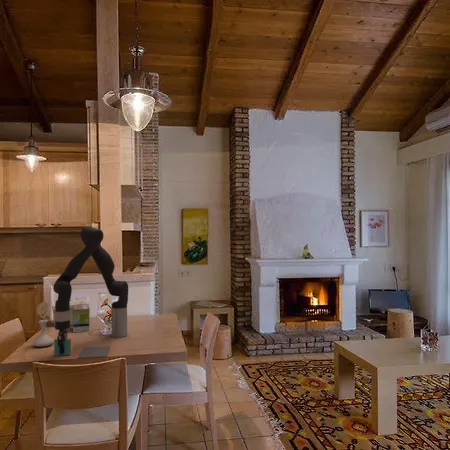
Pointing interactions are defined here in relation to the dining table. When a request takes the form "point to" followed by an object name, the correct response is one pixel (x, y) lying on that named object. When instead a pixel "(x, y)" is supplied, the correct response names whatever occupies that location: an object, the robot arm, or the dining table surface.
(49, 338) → the flower in vase
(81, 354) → the mat
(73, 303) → the storage basket
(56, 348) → the tile
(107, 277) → the robot arm
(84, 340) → the dining table surface
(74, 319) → the tea box
